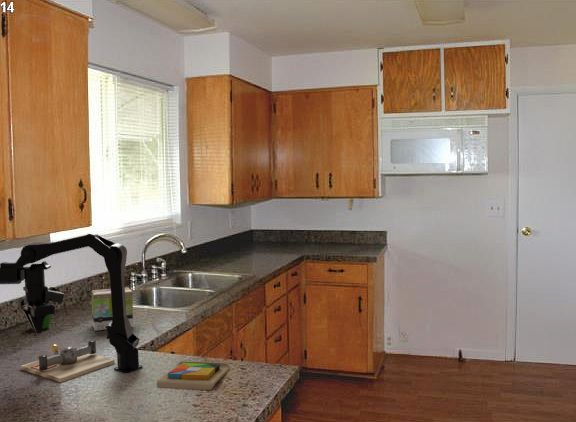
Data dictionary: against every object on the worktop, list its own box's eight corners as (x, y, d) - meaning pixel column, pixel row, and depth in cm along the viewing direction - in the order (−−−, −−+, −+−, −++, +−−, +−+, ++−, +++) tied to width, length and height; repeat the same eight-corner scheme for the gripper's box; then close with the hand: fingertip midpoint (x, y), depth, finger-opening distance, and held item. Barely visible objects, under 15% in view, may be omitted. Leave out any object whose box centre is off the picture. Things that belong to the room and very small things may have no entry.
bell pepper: (42, 331, 230) (40, 306, 229) (25, 330, 232) (23, 305, 231) (56, 326, 237) (55, 301, 237) (40, 324, 240) (39, 300, 239)
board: (114, 363, 191) (114, 359, 191) (60, 382, 175) (60, 378, 174) (75, 352, 203) (74, 349, 203) (20, 369, 186) (20, 365, 186)
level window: (57, 365, 186) (56, 364, 186) (41, 371, 181) (41, 369, 181) (46, 362, 189) (46, 361, 189) (31, 367, 184) (30, 366, 184)
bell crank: (100, 354, 195) (99, 340, 195) (44, 372, 178) (44, 357, 178) (79, 348, 202) (78, 335, 201) (23, 365, 185) (22, 351, 185)
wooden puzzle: (230, 369, 185) (230, 358, 185) (213, 392, 167) (212, 380, 166) (178, 366, 188) (177, 356, 188) (155, 389, 170) (154, 377, 169)
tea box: (94, 332, 228) (93, 294, 227) (92, 325, 237) (90, 289, 236) (133, 327, 234) (132, 290, 233) (130, 321, 243) (128, 286, 242)
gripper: (71, 284, 180) (73, 333, 181) (51, 276, 194) (53, 322, 196) (33, 289, 173) (36, 341, 174) (16, 280, 187) (18, 328, 189)
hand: (37, 332), depth 183 cm, fingers open, 3 cm apart
